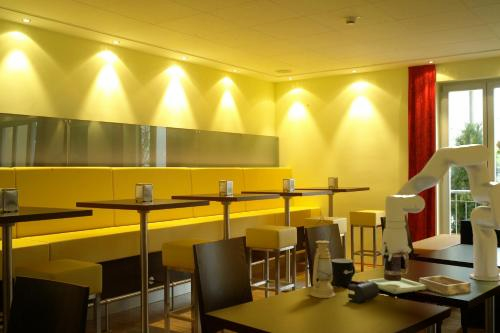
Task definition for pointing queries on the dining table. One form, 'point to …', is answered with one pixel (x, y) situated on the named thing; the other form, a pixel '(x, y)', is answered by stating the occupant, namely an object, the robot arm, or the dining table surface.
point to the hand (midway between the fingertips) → (395, 269)
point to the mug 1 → (342, 271)
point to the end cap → (363, 292)
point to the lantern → (322, 270)
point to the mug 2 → (396, 267)
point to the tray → (398, 285)
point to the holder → (445, 285)
